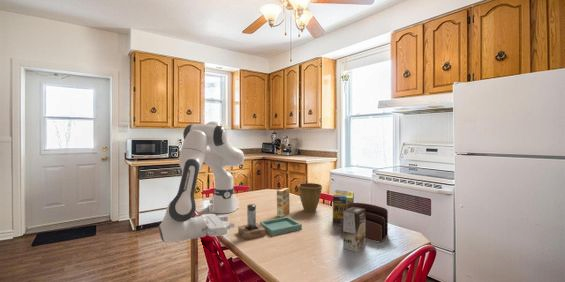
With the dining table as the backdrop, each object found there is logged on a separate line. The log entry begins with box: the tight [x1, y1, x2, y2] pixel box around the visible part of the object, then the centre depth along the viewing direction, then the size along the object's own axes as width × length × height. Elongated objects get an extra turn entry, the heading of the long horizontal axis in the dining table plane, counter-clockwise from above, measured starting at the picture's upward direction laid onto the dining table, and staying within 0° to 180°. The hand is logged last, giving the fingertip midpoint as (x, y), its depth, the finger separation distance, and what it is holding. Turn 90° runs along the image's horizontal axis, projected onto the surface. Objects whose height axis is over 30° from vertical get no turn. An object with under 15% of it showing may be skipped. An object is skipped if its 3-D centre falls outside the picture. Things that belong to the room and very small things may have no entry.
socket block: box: [237, 222, 266, 240], centre depth 126 cm, size 10×10×3 cm
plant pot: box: [297, 182, 323, 213], centre depth 164 cm, size 15×15×16 cm
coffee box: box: [342, 207, 366, 252], centre depth 112 cm, size 9×6×16 cm
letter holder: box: [340, 202, 389, 243], centre depth 125 cm, size 10×20×14 cm, turn 53°
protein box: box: [332, 190, 355, 227], centre depth 143 cm, size 10×15×16 cm
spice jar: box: [246, 203, 257, 230], centre depth 126 cm, size 4×4×14 cm
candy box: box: [276, 187, 291, 218], centre depth 155 cm, size 9×4×15 cm, turn 150°
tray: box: [259, 216, 303, 237], centre depth 134 cm, size 14×17×2 cm
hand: (230, 221), depth 121 cm, fingers open, 8 cm apart
